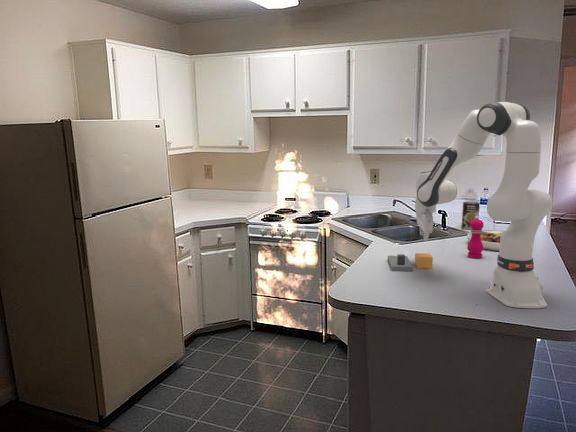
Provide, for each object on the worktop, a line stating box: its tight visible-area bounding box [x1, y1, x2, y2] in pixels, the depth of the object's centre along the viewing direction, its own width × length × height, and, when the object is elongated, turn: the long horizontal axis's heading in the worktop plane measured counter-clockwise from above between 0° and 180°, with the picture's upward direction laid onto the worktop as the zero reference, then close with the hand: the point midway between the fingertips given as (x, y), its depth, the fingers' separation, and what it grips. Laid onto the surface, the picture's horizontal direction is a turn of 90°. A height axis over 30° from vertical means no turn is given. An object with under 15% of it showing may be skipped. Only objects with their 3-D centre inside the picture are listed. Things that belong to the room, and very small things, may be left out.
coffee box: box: [460, 201, 481, 231], centre depth 279 cm, size 9×6×16 cm
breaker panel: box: [387, 254, 414, 272], centre depth 211 cm, size 17×9×3 cm, turn 174°
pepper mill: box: [466, 216, 484, 259], centre depth 220 cm, size 7×7×20 cm
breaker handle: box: [396, 253, 406, 264], centre depth 206 cm, size 3×3×4 cm
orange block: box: [414, 252, 434, 269], centre depth 209 cm, size 7×7×5 cm
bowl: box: [467, 229, 505, 252], centre depth 242 cm, size 30×30×8 cm
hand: (423, 237), depth 207 cm, fingers open, 8 cm apart
